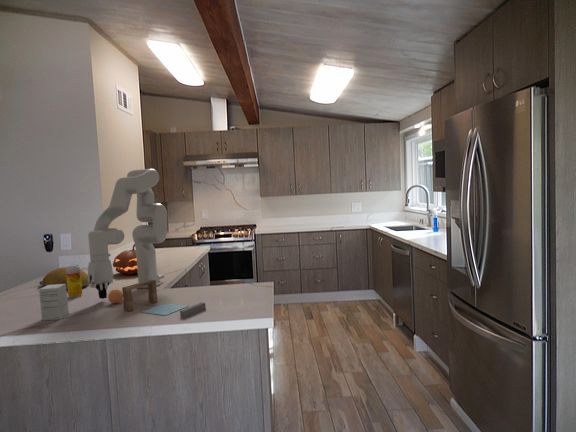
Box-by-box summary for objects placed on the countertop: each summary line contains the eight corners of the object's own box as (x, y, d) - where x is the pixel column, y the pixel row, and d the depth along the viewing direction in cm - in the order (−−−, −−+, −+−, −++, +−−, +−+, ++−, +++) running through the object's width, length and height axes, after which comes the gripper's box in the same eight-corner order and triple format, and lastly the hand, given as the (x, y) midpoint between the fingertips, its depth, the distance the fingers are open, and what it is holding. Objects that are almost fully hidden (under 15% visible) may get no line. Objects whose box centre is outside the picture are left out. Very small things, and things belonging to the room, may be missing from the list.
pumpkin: (104, 277, 241) (101, 246, 240) (127, 269, 265) (125, 240, 264) (143, 277, 237) (141, 244, 235) (163, 268, 261) (161, 239, 260)
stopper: (201, 308, 164) (201, 302, 164) (205, 308, 163) (205, 302, 163) (180, 317, 154) (180, 310, 154) (184, 317, 153) (183, 311, 153)
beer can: (76, 298, 194) (73, 266, 193) (65, 298, 195) (62, 267, 195) (85, 294, 200) (82, 264, 199) (74, 294, 201) (71, 264, 200)
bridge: (124, 311, 167) (122, 287, 166) (152, 301, 180) (150, 279, 179) (129, 311, 165) (127, 288, 165) (157, 301, 178) (155, 280, 178)
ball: (117, 300, 185) (116, 287, 184) (126, 301, 182) (125, 288, 181) (105, 304, 179) (104, 290, 179) (114, 305, 176) (113, 291, 176)
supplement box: (50, 315, 167) (47, 284, 166) (69, 313, 168) (66, 283, 167) (41, 320, 160) (38, 289, 159) (61, 319, 160) (58, 287, 160)
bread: (67, 293, 207) (65, 273, 207) (36, 286, 228) (35, 268, 227) (101, 285, 222) (100, 266, 221) (70, 279, 243) (68, 263, 242)
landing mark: (165, 303, 175) (165, 303, 175) (188, 306, 168) (188, 305, 168) (141, 312, 163) (141, 312, 163) (165, 315, 157) (165, 315, 157)
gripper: (108, 254, 192) (112, 293, 193) (78, 260, 179) (82, 301, 180) (119, 255, 188) (122, 294, 189) (89, 261, 175) (93, 303, 176)
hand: (103, 298), depth 185 cm, fingers closed
